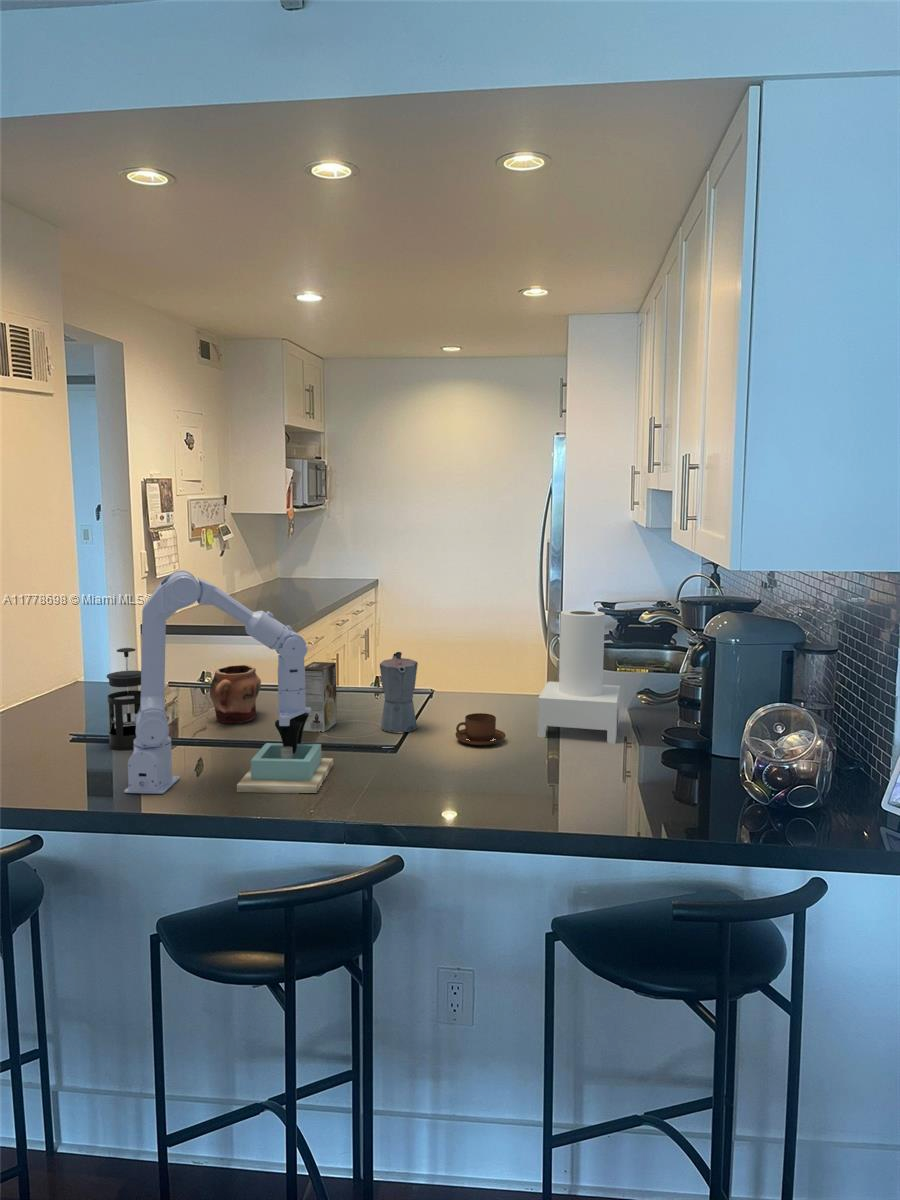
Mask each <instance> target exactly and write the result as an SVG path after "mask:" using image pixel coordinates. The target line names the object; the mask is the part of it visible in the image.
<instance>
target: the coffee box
mask: <svg viewBox="0 0 900 1200" xmlns="http://www.w3.org/2000/svg"><path fill="white" fill-rule="evenodd" d="M304 666H305V706H306V707H310V708H311V711H310V712H309V713H308V714H309V716H308V718H307V720H306V723H305V726H304V729H303V732H314V733H316V732H317V731H318V732H317V733H325V732H324V731H326V730H327V731H328V730H329V729H331V728H332V727H333V726H335V724H337V723H338V716H337V715H338V713H337V711H338V710H337V705H338V704H337V702H338V701H337V662H329V661H328V662H326V661H325V662H324V661H313V662H311V663H309V664H307V665H304ZM320 731H322V732H320ZM327 731H326V732H327Z"/></svg>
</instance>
